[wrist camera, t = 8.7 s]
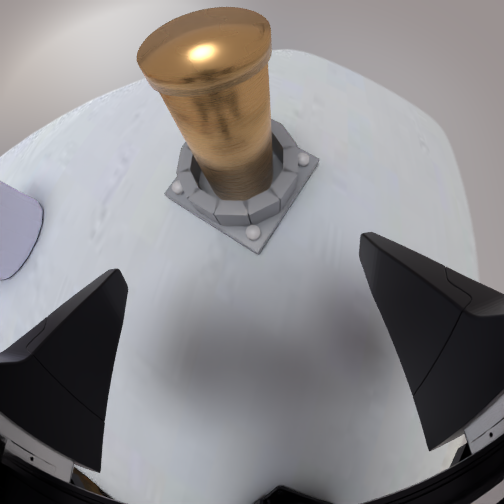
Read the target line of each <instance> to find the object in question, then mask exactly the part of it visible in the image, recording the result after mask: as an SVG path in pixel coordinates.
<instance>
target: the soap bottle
mask: <svg viewBox="0 0 504 504" xmlns="http://www.w3.org/2000/svg"><path fill="white" fill-rule="evenodd" d="M42 213H43V210H42V208H41V206H40V204H39V203H38V201H37V200H35V199H33V198H31V197H29V196H27V195H25V194H24V193H22V192H20V191H18V190H16V189H14V188H12V187H11V186H9V185H7V184H5V183H3V182H1V181H0V280H3V279H7V278H9V277H10V276H12V275H13V274H14V273H15V272H16V271H18V270H19V268H20V267H21V265H22V264H23V263H24V261H25V260H26V259H27V257H28V256H29V254H30V252H31V250H32V248H33V246H34V244H35V242H36V240H37V237H38V234H39V231H40V228H41V225H42Z"/></svg>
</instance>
